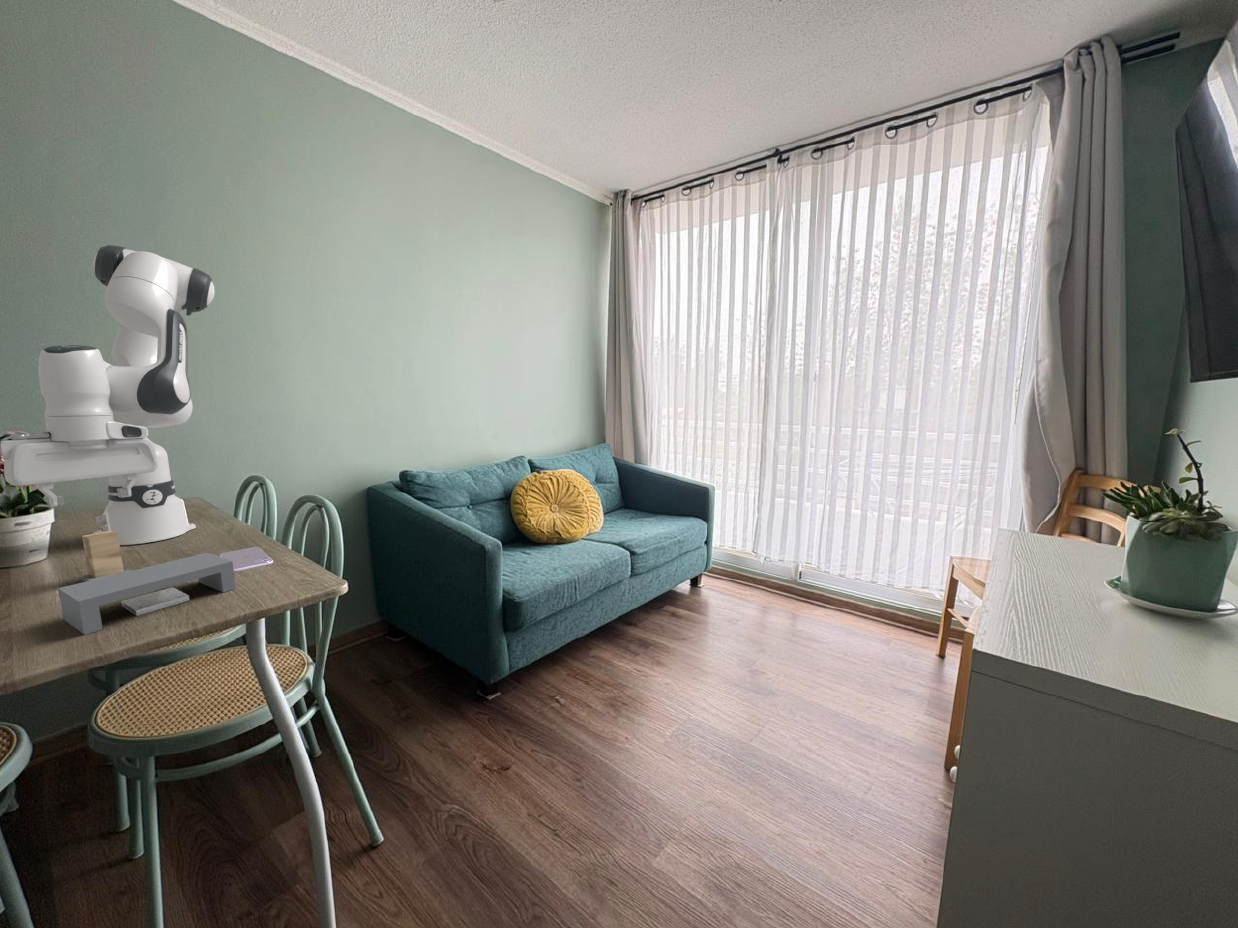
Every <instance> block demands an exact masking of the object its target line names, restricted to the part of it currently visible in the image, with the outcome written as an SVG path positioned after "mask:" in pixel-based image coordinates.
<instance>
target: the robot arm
mask: <svg viewBox="0 0 1238 928" xmlns="http://www.w3.org/2000/svg"><path fill="white" fill-rule="evenodd" d="M92 268H93V269H92V270H93V271H94V276H95V278H96V279H97V280H98V281H99V282H100V283H101V284H102V285H103V286H105V287H106V289H105V292H104V297H103V298H104V300H103V301H104V302H103V303H104V306H105V308H106V310H107V311H108V313H109V314H110V316H111V317H112V318H113V319H115V320H116V321H117V322H118V323H119V325H118V327H117V328H118V329H117V332H116V335H115V338H114V341H113V345H112V349H111V353H110V354H111V358H112V359H113V361H114V362H115V364H117V365H112V364H111V363H109V362H106V361H105V360H104V359H103V356H102V353H101V351H100V349H99V348H97V347H94V346H91V345H74V344H73V345H72V344H71V345H51V346H47V347H45V348H42V349H41V351H40V354H39V357H38V358H39V359H38V381H39V388H40V393H41V395H42V397H43V398H44V401H45V410H44V420H45V427H46V432H44V431H43V432H32V433H12V434H10V435H9V436H6V437H4V438H3V439H1V440H0V456H2V457H3V458H4V466H3V468H4V469H3V470H4V472H3V473H4V480H5V481H6V483H8V484H9V485H12V486H15V487H16V486H17V487H25V486H26V487H27V486H33V485H37V486H36V487H37V490H38V491H39V492H41V493H42V494H43V495H44V496H45V497H47V498H48V503H49V506H50V507H51V508H57V507H63V506H66V502H65V496H63V495H56V494H55V493H54V492H53V491H51V490H53V489H54V487H55V486H54V483H62V482H70V481H71V482H73V481H80V480H82V481H83V480H91V479H99V478H108V482H109V485H108V486H107V492H106V493H107V499H108V500H109V502H108V504H107V506H106V507H105V509H104V511H103V513H102V514H100V515H99V516H95V517H94V522H95V526H96V527H99V526H101V529H100V530H96V531H94V532H93V534H95V533H100V532H106V531H113V532H115V533H118V538H119V544H120V546H129V545H140V544H146V543H151V542H152V543H153V542H158V541H159V542H160V541H163V540H167V539H172V538H176V537H178V536H181V535H184V534H186V533H187V532H188V531H191V530H194V529H196V528H197V527H196V524H195V523H189V520H188V514H187V511H186V507H185V502H184V500H183V499H181V498H180V497H178V496H177V495H175V494H176V485H175V482H174V480H173V479H172V477H171V471H170V462H169V456H168V453H167V450H165V448H164V447H163V446H161V445H159V444H157V443H155V442H153V441H152V440H151V439H149V438H148V437H149V429H151V428H152V429H153V428H154V429H155V428H157V429H159V428H160V429H161V428H168V427H172V426H177V425H182V424H184V423H186V422H187V421H188V420H189V419H190V418H191V415H192V414H193V409H194V407H193V406H194V405H193V400H192V399H191V388H190V387H191V386H190V381H189V375H188V374H189V373H188V372H189V371H188V369H189V368H188V367H189V360H188V359H189V355H188V354H189V353H188V351H189V350H188V349H189V341H188V340H189V339H188V327H187V325H186V322H185V320H184V318H183V316H182V315H181V312H182V311H184V310H186V316H191V315H192V313H199V312H203V310H205V309H207V308H208V307H209V305H210V304H211V303H212V301H213V300H214V298H215V295H216V293H215V292H216V289H215V286H214V282H213V279H212V277H211V276H210V275H209V274H208V273H206V272H204V271H202V270H200V269H199V268H195V267H194V268H192V267H190V266H187V265H185V264H182V263H179V262H177V261H175V260H172V259H169V258H166V257H163V256H160V255H159V254H156V253H153V252H150V251H143V250H142V251H140V250H132V249H128V248H126V247H125V246H120V245H115V244H114V245H113V244H112V245H111V244H108V245H105V246H102V247H100V248H99V249H98V251H97V252H96V254H94V257H93V259H92ZM148 428H149V429H148ZM10 439H11V440H10Z"/></svg>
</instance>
